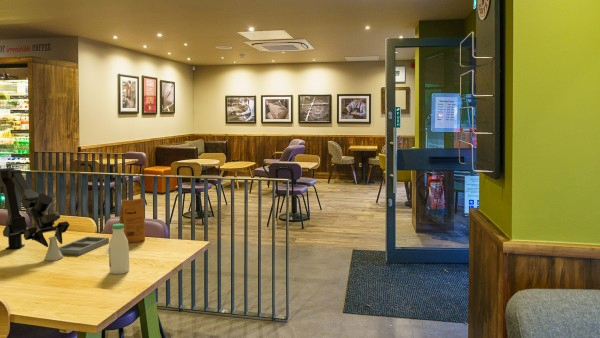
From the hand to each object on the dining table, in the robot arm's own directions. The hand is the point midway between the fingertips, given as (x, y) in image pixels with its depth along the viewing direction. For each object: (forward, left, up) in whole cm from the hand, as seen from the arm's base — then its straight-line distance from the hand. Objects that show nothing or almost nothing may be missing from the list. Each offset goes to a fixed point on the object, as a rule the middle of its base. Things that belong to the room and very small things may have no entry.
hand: (54, 245), depth 216 cm
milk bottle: (+22, +32, -7) cm, 39 cm away
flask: (-1, -1, -7) cm, 7 cm away
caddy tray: (-18, +7, -7) cm, 21 cm away
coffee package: (-30, +28, -7) cm, 42 cm away
